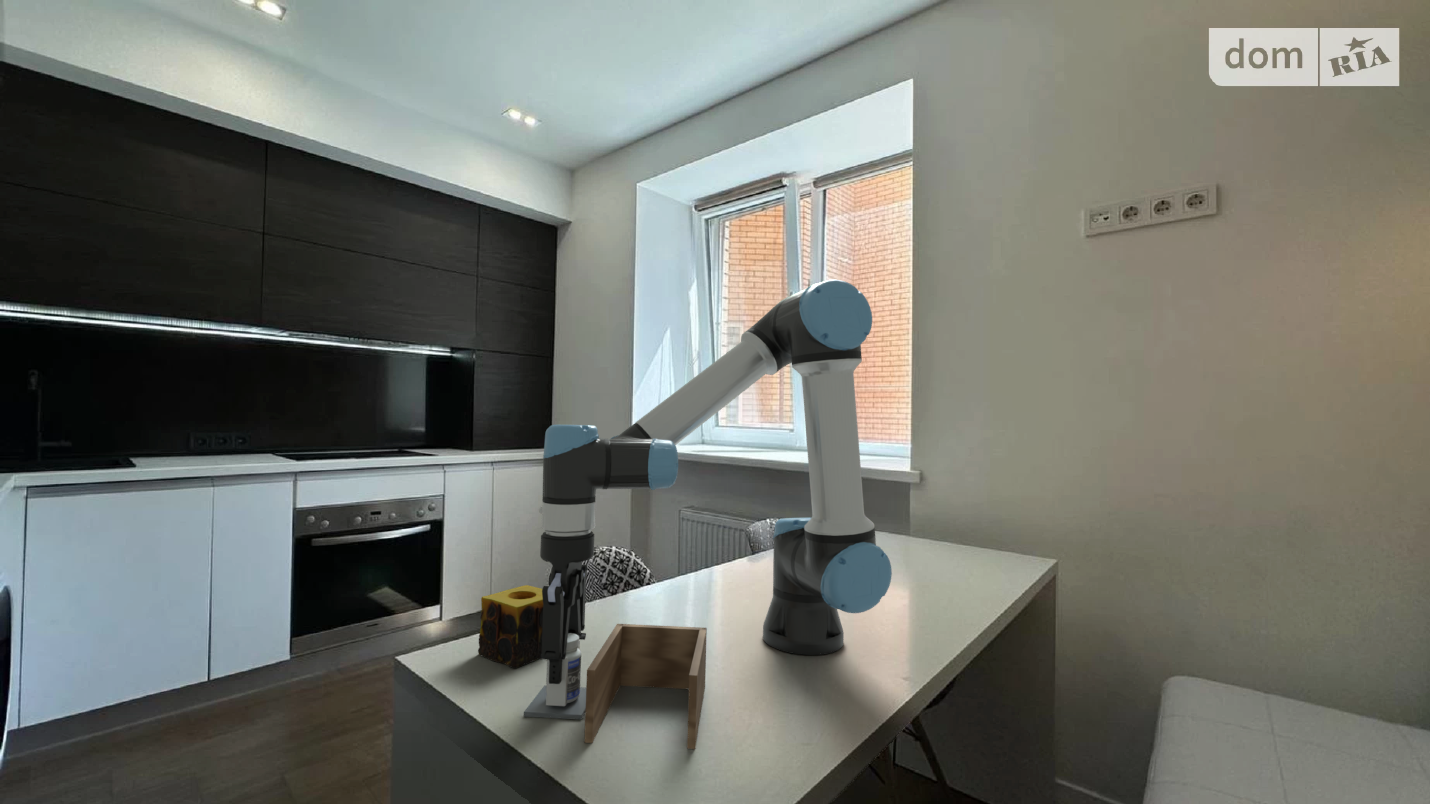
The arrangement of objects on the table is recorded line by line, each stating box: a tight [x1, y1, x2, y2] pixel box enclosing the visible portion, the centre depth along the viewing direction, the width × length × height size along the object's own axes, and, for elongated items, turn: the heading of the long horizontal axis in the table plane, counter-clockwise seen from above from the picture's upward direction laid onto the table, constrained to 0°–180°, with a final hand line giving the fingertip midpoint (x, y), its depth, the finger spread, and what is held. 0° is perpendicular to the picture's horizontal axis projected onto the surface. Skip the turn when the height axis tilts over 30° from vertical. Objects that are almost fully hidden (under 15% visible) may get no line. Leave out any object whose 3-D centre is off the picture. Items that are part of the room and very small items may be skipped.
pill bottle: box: [545, 633, 582, 703], centre depth 82 cm, size 5×5×8 cm
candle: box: [477, 584, 543, 669], centre depth 100 cm, size 10×10×10 cm
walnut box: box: [583, 623, 708, 750], centre depth 80 cm, size 14×17×9 cm
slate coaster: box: [523, 684, 586, 720], centre depth 82 cm, size 8×8×1 cm
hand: (562, 694), depth 82 cm, fingers closed on pill bottle, 5 cm apart
